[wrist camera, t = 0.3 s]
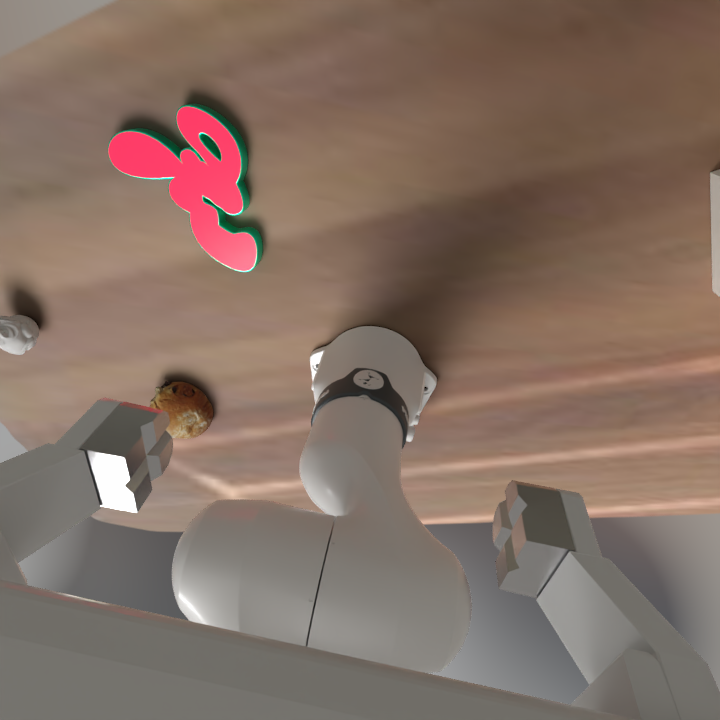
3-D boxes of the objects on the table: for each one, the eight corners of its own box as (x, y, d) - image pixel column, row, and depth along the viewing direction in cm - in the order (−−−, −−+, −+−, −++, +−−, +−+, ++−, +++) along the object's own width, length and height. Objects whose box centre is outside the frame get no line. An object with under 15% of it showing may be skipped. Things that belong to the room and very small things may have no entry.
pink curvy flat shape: (110, 139, 57) (98, 141, 55) (220, 86, 52) (212, 87, 50) (193, 284, 66) (186, 291, 64) (294, 252, 61) (289, 258, 59)
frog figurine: (37, 301, 72) (0, 323, 66) (56, 341, 75) (24, 364, 69) (3, 302, 73) (-35, 323, 67) (24, 340, 76) (-10, 364, 71)
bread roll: (175, 404, 84) (160, 445, 80) (144, 375, 75) (126, 420, 71) (225, 405, 82) (213, 448, 78) (200, 376, 74) (185, 422, 69)
